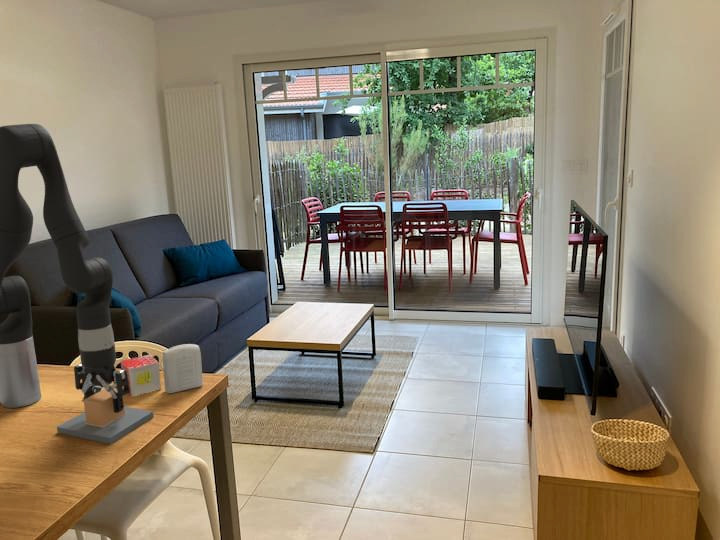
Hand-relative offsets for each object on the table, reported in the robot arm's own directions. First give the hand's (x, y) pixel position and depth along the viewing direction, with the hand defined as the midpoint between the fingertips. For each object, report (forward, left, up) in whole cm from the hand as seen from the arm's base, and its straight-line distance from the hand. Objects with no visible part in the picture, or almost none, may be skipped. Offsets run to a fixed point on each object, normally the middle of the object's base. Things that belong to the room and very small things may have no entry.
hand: (104, 408), depth 140 cm
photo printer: (+4, +24, -4) cm, 25 cm away
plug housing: (0, 0, -3) cm, 3 cm away
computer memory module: (-19, +15, -5) cm, 25 cm away
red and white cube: (-7, +20, -4) cm, 22 cm away
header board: (0, 0, -4) cm, 4 cm away
